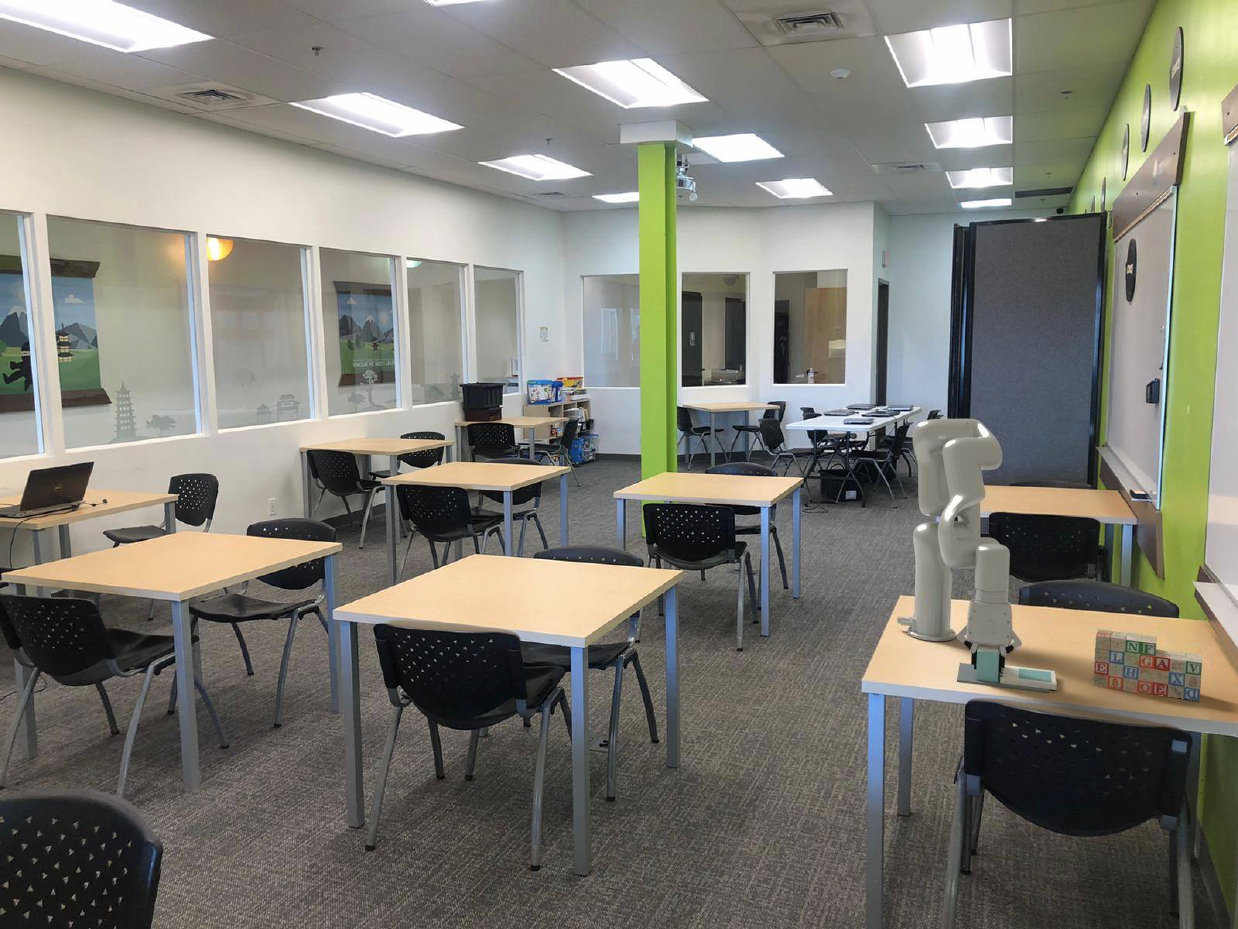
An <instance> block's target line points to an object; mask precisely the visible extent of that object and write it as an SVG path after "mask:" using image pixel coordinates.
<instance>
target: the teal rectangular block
mask: <svg viewBox="0 0 1238 929" xmlns="http://www.w3.org/2000/svg"><path fill="white" fill-rule="evenodd" d="M999 654H1000V648H999V645H991V644H982V643H978V646H977V668H976V680H983V681H991V682H998V667H999Z"/></svg>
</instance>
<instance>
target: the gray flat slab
mask: <svg viewBox="0 0 1238 929" xmlns="http://www.w3.org/2000/svg"><path fill="white" fill-rule="evenodd" d="M1056 676H1057V675H1056V671H1055V670H1050V669H1040V668H1032V667H1025V666H1023V667H1022V666H1014V665H1006V664H1005V668H1002V669H1001V673H1000V672H998V682H991V681H983V680H976V670H975V669H974V665H971V663H965V662H959V665H958V671H957V678H956V682H957V683H958V682H960V683H968V684H974V685H982V686H984V685H985V686H990V687H991V686H993V687H998V688H999V687H1000V688H1007V689H1014V690H1022V691H1031V692H1037V693H1038V692H1040V693H1047V694H1050V690H1054V691H1057V677H1056Z"/></svg>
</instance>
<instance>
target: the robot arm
mask: <svg viewBox="0 0 1238 929" xmlns="http://www.w3.org/2000/svg"><path fill="white" fill-rule="evenodd" d="M912 445H913V446H912V447H913V448H912V449H913V451H914V455H915V459H916V460H917V466H918V467H917V468H918V476H917V478H918V480H917V481H918V486H917V487H918V494H917V495H918V507H919V511H920V513H921V514H922V515H924V516H926V517H935V518H936V517H937V518H939V520H938V521H927V522H923V523H920V524H918V525H917V526H916V527H915V528H914V530H913V532H912V533H913V534H912V542H913V548H914V549H913V551H914V558H915V559H914V560H915V574H914V576H915V580H914V582H915V583H914V584H915V585H914V607H913V611H914V613H913V615H912V616H909V617H905V616H897V622H896V623H897V624H900V626H905V627H906V626H907V627H908V628H907V633H908V634H909V636H911V637H912V638H915V639H918V640H922V641H928V642H929V641H931V642H947V641H951V640H954V639H955V638H957V640H958V641H959V642H961V643H962V644H963V645H964V646H965V647H966V648H967V649H968V650H969V651H970V653H971V656H970V664H971V665H974V669H975V670H976V668H977V649H978V643H982V644H991V645H999V667H998V672H1000V673H1001V669H1002V668H1005V665H1006V657H1007V656H1008V654H1010V653H1011V652H1012V651H1014V650H1015V649H1017V648H1019V647H1021V646H1022V644H1023V642H1022V640H1021V639H1020V637H1019V636H1018V635H1017V633H1016V632H1015V631H1014V629H1013V611H1012V610H1013V609H1012V603H1011V602H1010V601H1009V598H1008V597H1009V580H1010V578H1009V577H1010V559H1011V558H1010V556H1011V553H1010V549H1009V548H1008V547H1007V546H1006V545H1004V544H1000V542H999V541H998V540H997V539H995V538H992V537H987V536H986V537H981V503H982V501H984V500H985V498H986V488H985V484H984V480H983V479H984V477H983V474H982V473H983V472H982V471H993V470H997V469H998V468H999V467H1000V466H1001V464H1002V461H1003V450H1002V447H1001V445H1000V442H999V441H998V439H997V437H995V435H994V434H993V433H992V432H991V431H990V430H989V429H988V428H987V426H985V424H984V423H983V422H982V421H980V420H978V419H975V418H932V419H926V420H922V421H920V422H919V423H917V424H916V425H915V428H914V429H913V433H912ZM956 517H957V520H955V519H956ZM951 569H957V570H958V569H959V570H960V569H974V585H973V586H974V587H973V588H968V589H967V595H969V596H972V598H971V599H970V601H969V606H968V610H967V611H968V612H967V616H966V617H967V621H966V625H965V626H964V627H963V628H962V629H961V630H960V631H959V632H958V634H957V632H956V631H955V630H954V629H952V628H951V614H952V613H951V610H952V607H951V606H952V590H953V589H952V588H953V587H952V585H953V584H952V582H953V573H952V570H951ZM1012 641H1013V642H1012Z"/></svg>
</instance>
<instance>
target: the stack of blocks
mask: <svg viewBox="0 0 1238 929" xmlns="http://www.w3.org/2000/svg"><path fill="white" fill-rule="evenodd" d="M1157 642H1158V641H1157V636H1156V635H1149V634H1140V633H1131V632H1123V631H1117V630H1116V631H1115V630H1111V629H1110V630H1109V629H1101V628H1099V629H1097V631H1096V635H1095V648H1094V670H1093V686H1098V687H1101V688H1102V687H1103V688H1109V689H1115V690H1121V691H1127V692H1132V693H1139V692H1140V693H1139V694H1145V693H1146V694H1147V695H1152V694H1153V696H1158V695H1163V696H1162V697H1164V696H1168V697H1167V698H1170V697H1174V698H1173V699H1177V698H1183V699H1187V700H1186V701H1189V700H1194V701H1193V702H1195V701H1197V703H1199V702H1200V699H1201V698H1200V696H1201V688H1202V687H1201V685H1202V668H1203V659H1202V658H1203V657H1202V654H1194V653H1186V652H1183V651H1181V652H1180V651H1175V650H1174V651H1173V650H1168V649H1159V648H1157ZM1183 699H1182V700H1183Z"/></svg>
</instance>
